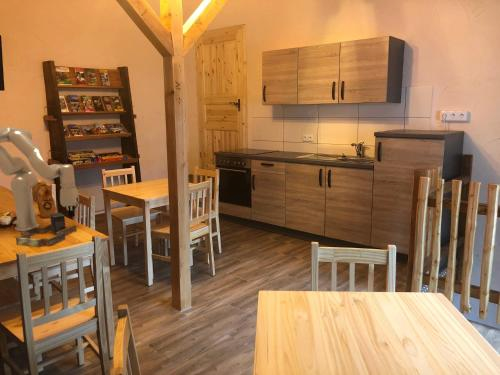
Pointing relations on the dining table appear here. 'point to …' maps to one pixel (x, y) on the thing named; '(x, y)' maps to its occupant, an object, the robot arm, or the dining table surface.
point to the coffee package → (45, 201)
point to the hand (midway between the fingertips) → (72, 216)
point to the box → (57, 222)
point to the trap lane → (26, 238)
